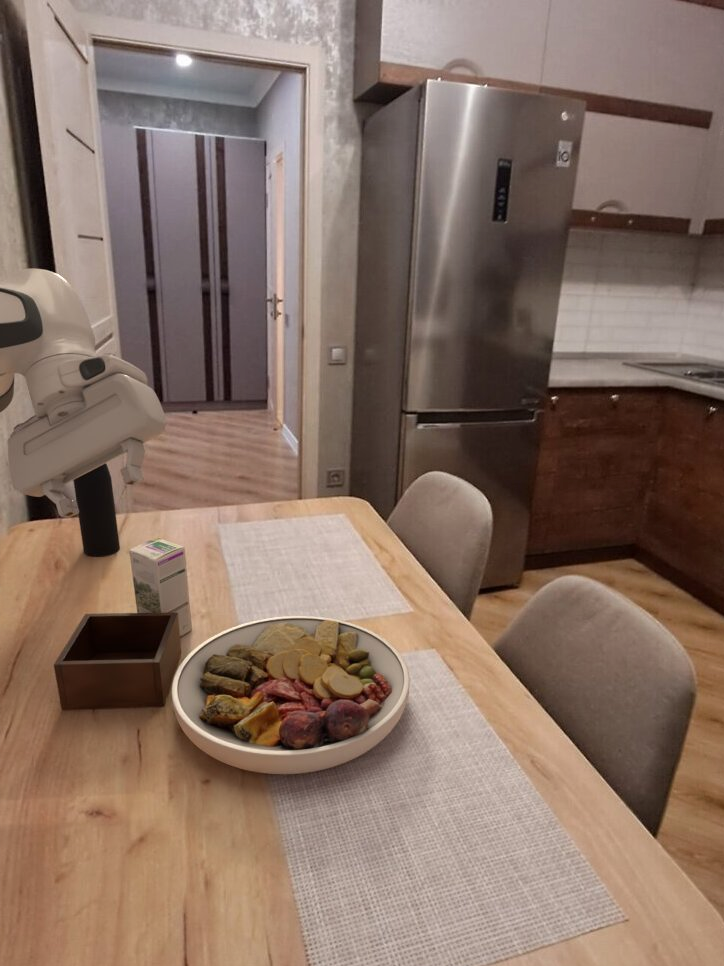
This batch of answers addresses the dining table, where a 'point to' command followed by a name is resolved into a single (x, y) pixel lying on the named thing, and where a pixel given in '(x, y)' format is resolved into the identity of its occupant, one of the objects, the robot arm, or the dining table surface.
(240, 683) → the bowl
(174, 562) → the syrup box
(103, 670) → the box
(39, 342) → the robot arm
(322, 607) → the dining table surface
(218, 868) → the dining table surface
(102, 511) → the black water bottle
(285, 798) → the dining table surface
